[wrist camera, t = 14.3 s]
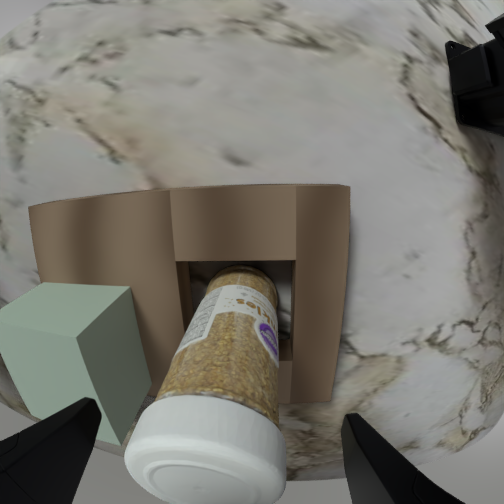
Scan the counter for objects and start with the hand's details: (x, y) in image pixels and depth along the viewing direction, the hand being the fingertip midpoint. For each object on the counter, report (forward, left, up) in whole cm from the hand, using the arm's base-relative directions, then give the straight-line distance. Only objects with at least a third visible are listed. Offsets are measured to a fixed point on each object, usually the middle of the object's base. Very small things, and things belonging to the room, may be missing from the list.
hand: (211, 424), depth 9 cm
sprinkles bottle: (0, 0, -11) cm, 11 cm away
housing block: (+10, +2, -8) cm, 13 cm away
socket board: (+4, 0, -11) cm, 11 cm away
